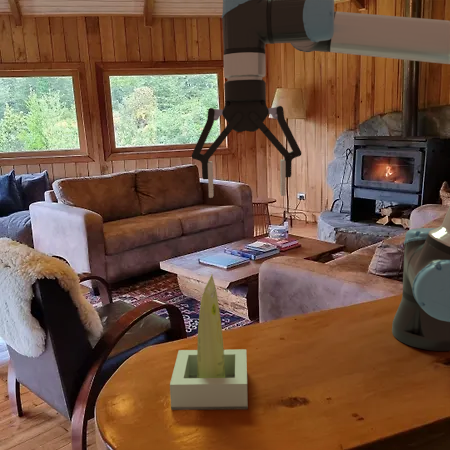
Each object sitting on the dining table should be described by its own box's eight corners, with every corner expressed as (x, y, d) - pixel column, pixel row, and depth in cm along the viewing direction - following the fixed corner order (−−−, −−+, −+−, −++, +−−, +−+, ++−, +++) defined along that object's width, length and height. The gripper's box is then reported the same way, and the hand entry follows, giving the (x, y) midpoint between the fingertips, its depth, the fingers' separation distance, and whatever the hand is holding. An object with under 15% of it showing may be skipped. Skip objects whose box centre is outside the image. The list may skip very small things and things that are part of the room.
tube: (233, 389, 90) (230, 281, 86) (208, 398, 88) (204, 287, 84) (215, 376, 95) (212, 273, 91) (191, 384, 92) (186, 279, 88)
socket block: (246, 371, 97) (246, 349, 96) (247, 409, 85) (247, 383, 84) (179, 372, 98) (178, 350, 97) (171, 409, 86) (169, 384, 85)
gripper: (311, 78, 98) (310, 191, 102) (178, 82, 99) (183, 194, 103) (317, 76, 91) (315, 197, 95) (173, 80, 91) (179, 200, 96)
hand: (247, 195), depth 99 cm, fingers open, 13 cm apart
